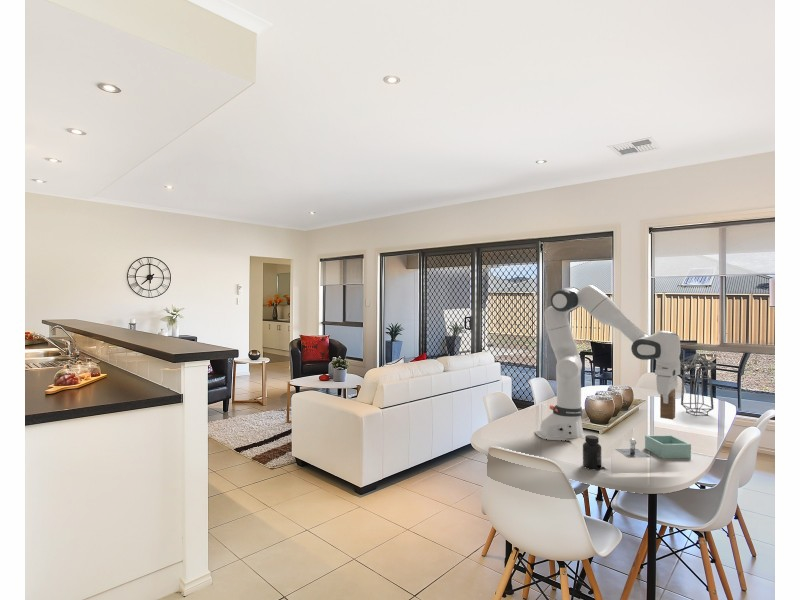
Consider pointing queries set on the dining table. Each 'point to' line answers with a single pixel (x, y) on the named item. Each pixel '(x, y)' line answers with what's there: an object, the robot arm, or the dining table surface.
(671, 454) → the sage bin
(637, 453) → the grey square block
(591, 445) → the supplement bottle
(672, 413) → the walnut strut
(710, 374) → the geometric lantern
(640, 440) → the dining table surface
